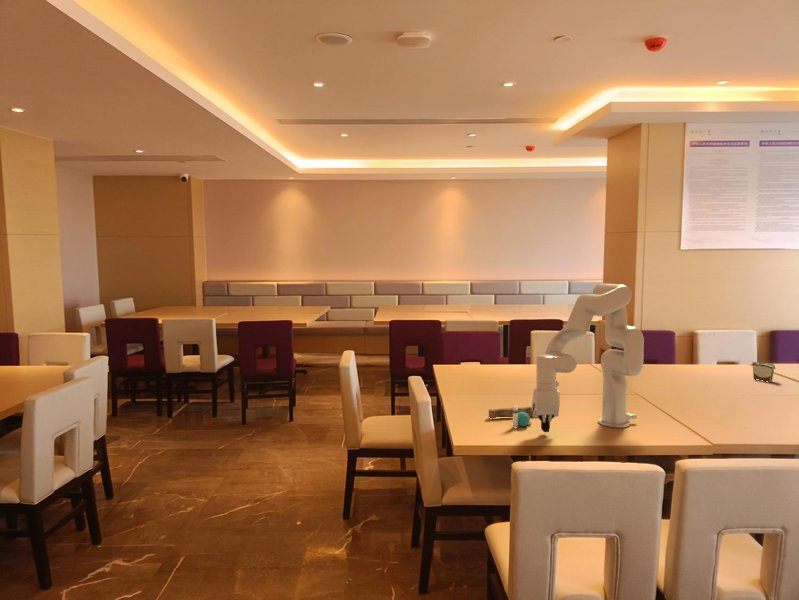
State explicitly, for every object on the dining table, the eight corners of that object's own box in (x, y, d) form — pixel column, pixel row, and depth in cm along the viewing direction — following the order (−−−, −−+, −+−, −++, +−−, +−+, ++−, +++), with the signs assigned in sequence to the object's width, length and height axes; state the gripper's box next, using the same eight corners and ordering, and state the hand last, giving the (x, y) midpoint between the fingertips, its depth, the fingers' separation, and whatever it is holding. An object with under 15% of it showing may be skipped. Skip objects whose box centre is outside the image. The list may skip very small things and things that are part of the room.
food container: (780, 382, 304) (780, 365, 303) (772, 383, 301) (773, 365, 300) (758, 378, 315) (759, 361, 314) (751, 379, 313) (751, 361, 312)
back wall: (539, 414, 245) (539, 406, 245) (541, 416, 243) (541, 407, 243) (488, 418, 240) (488, 409, 240) (490, 419, 238) (490, 410, 238)
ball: (517, 410, 233) (526, 407, 228) (524, 422, 233) (534, 419, 228) (509, 418, 229) (519, 415, 225) (517, 430, 229) (527, 427, 224)
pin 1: (516, 426, 228) (516, 405, 227) (518, 428, 226) (518, 407, 225) (511, 427, 228) (511, 406, 227) (513, 428, 226) (513, 407, 225)
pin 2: (533, 422, 230) (524, 416, 239) (529, 419, 229) (520, 413, 238) (530, 426, 230) (522, 420, 239) (526, 424, 229) (518, 417, 238)
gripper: (558, 382, 221) (558, 427, 223) (524, 384, 218) (523, 429, 220) (568, 387, 214) (567, 432, 215) (532, 389, 211) (532, 435, 212)
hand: (545, 431), depth 218 cm, fingers closed
